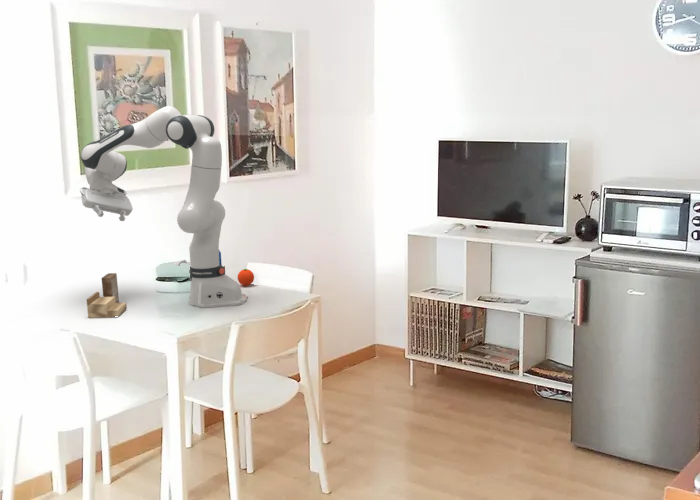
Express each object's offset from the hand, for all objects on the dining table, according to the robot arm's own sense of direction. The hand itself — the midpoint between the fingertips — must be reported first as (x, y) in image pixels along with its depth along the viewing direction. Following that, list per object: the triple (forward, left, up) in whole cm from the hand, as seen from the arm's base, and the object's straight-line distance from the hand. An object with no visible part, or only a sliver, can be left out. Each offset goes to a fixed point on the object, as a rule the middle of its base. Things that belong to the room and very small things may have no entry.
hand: (112, 217), depth 306 cm
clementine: (-46, -24, -34) cm, 62 cm away
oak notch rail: (0, +16, -34) cm, 37 cm away
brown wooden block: (+1, +5, -34) cm, 34 cm away
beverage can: (-30, -41, -34) cm, 61 cm away
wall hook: (-20, -35, -34) cm, 53 cm away
